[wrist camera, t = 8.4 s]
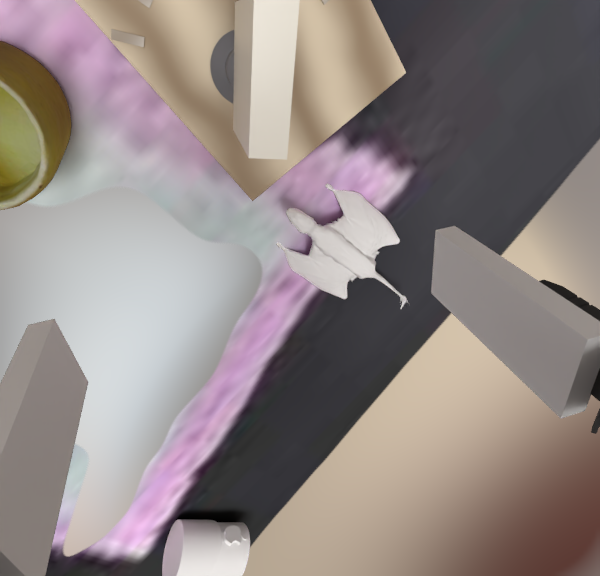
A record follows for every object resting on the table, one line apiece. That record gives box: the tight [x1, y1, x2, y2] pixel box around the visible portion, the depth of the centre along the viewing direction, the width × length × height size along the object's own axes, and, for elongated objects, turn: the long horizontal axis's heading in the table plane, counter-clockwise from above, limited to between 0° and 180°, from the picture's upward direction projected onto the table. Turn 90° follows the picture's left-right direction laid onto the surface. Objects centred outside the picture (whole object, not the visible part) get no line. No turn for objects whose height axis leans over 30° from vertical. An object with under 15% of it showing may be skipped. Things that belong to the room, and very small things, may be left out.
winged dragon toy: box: [276, 184, 410, 308], centre depth 42 cm, size 18×10×4 cm, turn 48°
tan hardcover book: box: [75, 0, 406, 201], centre depth 29 cm, size 16×22×3 cm
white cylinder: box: [162, 519, 250, 576], centre depth 59 cm, size 12×9×8 cm
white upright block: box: [210, 0, 300, 160], centre depth 25 cm, size 5×12×10 cm, turn 174°
